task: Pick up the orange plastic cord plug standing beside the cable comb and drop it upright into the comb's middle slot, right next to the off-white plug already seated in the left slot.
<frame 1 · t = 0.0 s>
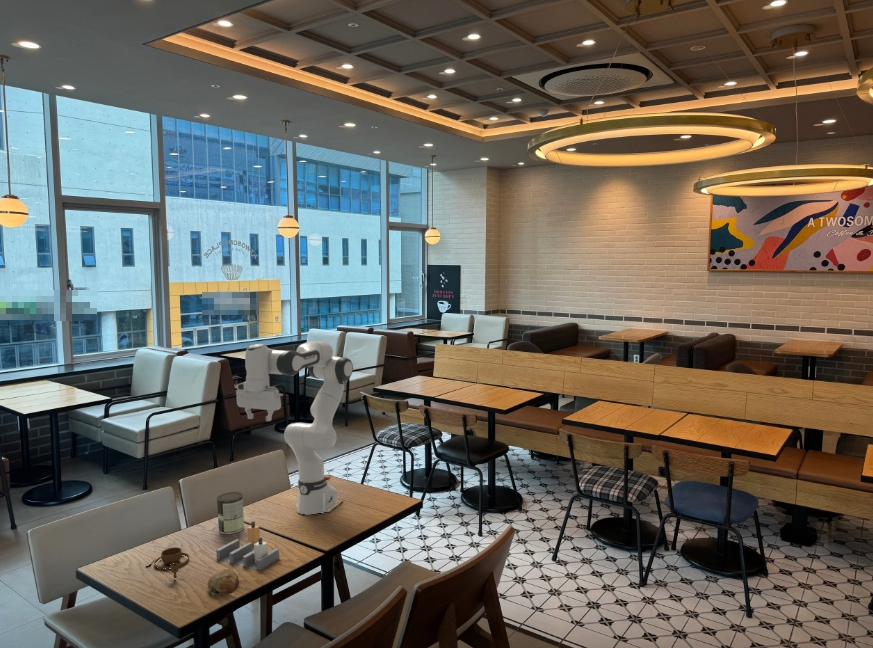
hand: (259, 419, 242), 48 cm above the table, tool pointing down, fingers open, 8 cm apart
white plug: (261, 562, 222), point 1 cm above the table, touching cable comb
cable comb: (248, 561, 225), on the table
bread roll: (224, 588, 206), on the table
orange plug: (254, 544, 239), on the table
place setting: (167, 569, 221), on the table
coffee can: (231, 529, 254), on the table
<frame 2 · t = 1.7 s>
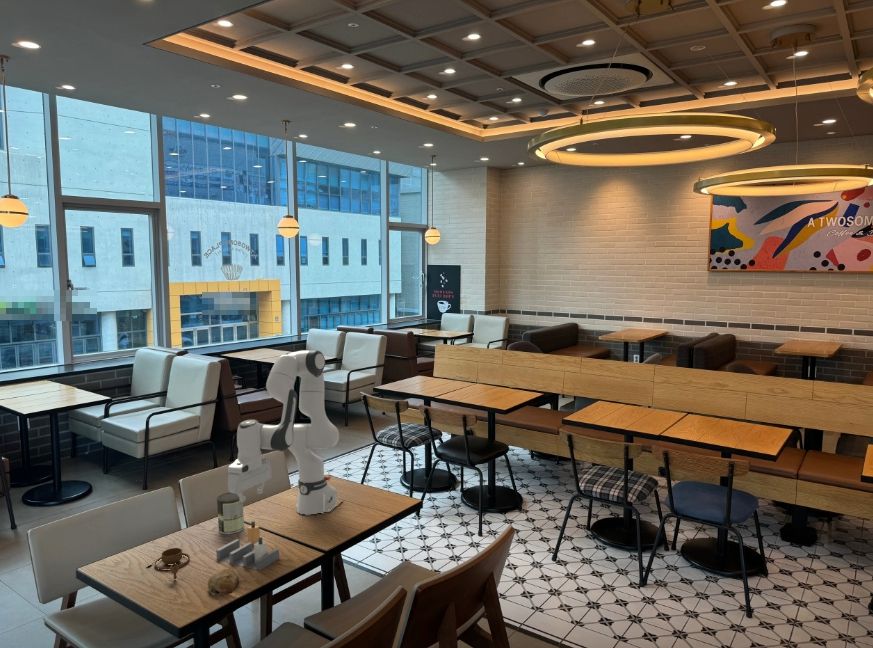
hand: (251, 497, 238), 19 cm above the table, tool pointing down, fingers open, 8 cm apart
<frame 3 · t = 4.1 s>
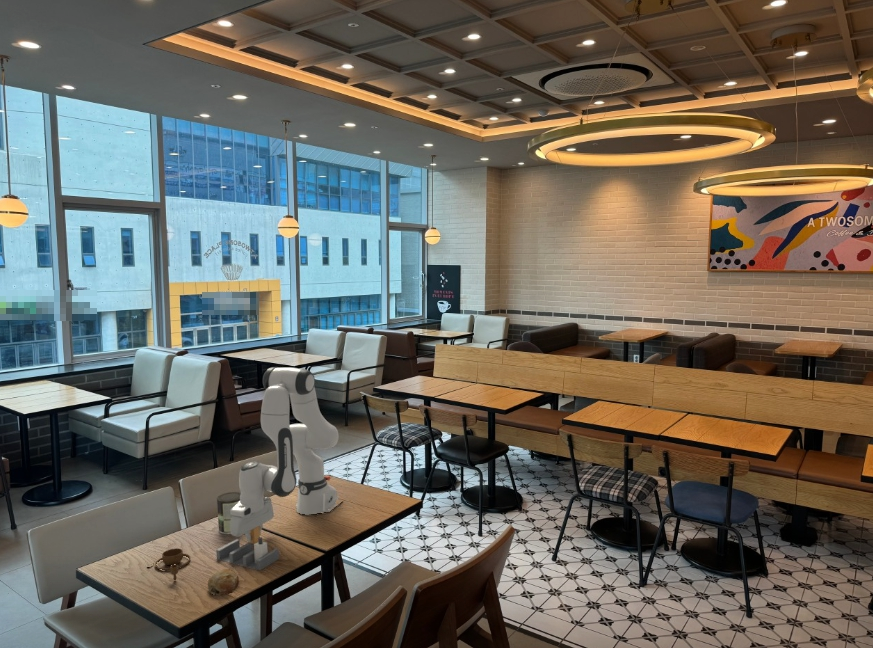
hand: (253, 538, 239), 2 cm above the table, tool pointing down, fingers closed on orange plug, 3 cm apart
orange plug: (254, 544, 239), on the table, touching gripper
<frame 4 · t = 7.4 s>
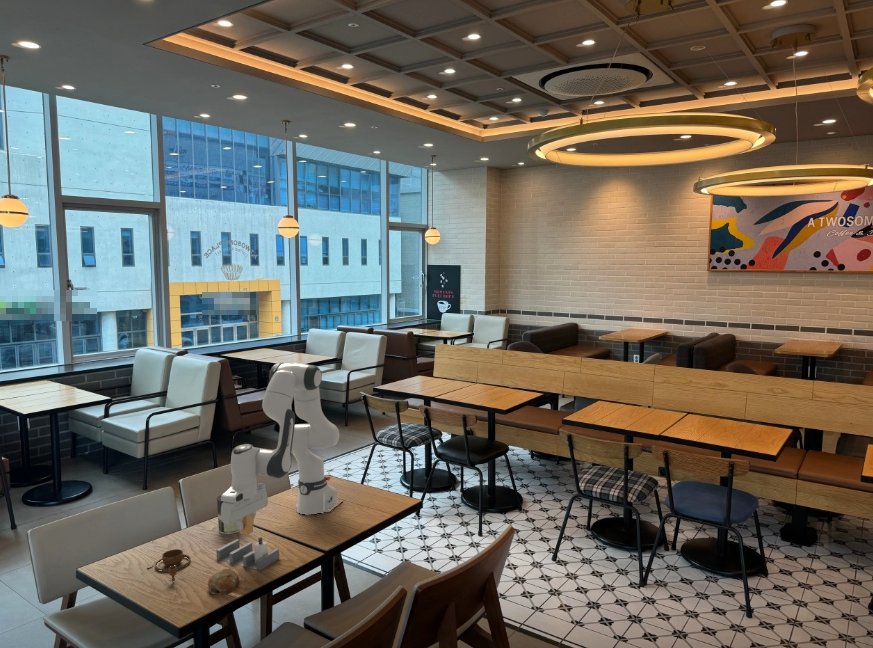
hand: (246, 526, 223), 13 cm above the table, tool pointing down, fingers closed on orange plug, 3 cm apart
orange plug: (246, 532, 224), point 11 cm above the table, touching gripper
when the fingers open (6 cm above the table, at t = 8.9 s): orange plug drops 2 cm, resting on cable comb.
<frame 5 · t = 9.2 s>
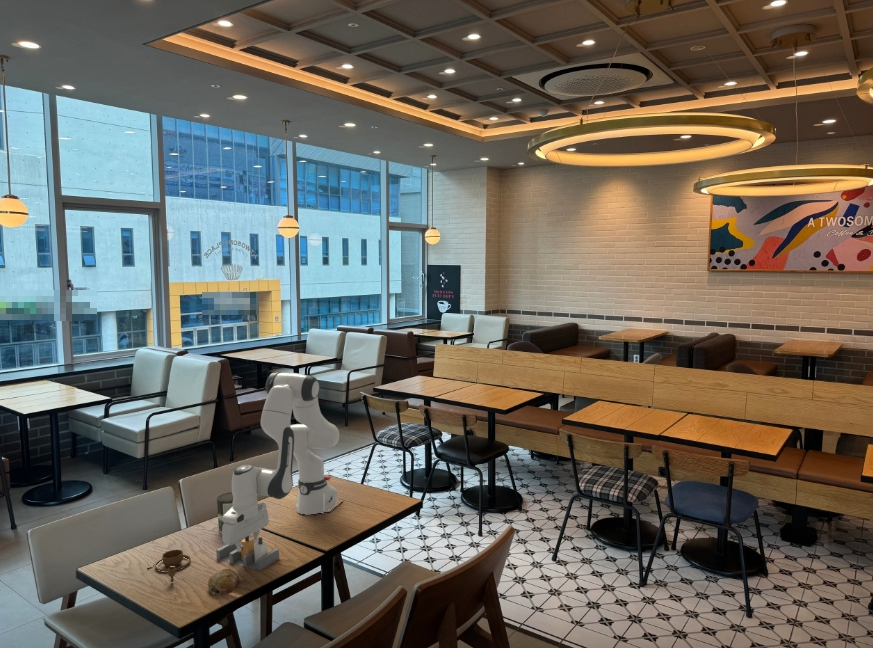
hand: (247, 546, 224), 6 cm above the table, tool pointing down, fingers open, 6 cm apart
orange plug: (248, 558, 225), point 1 cm above the table, touching cable comb
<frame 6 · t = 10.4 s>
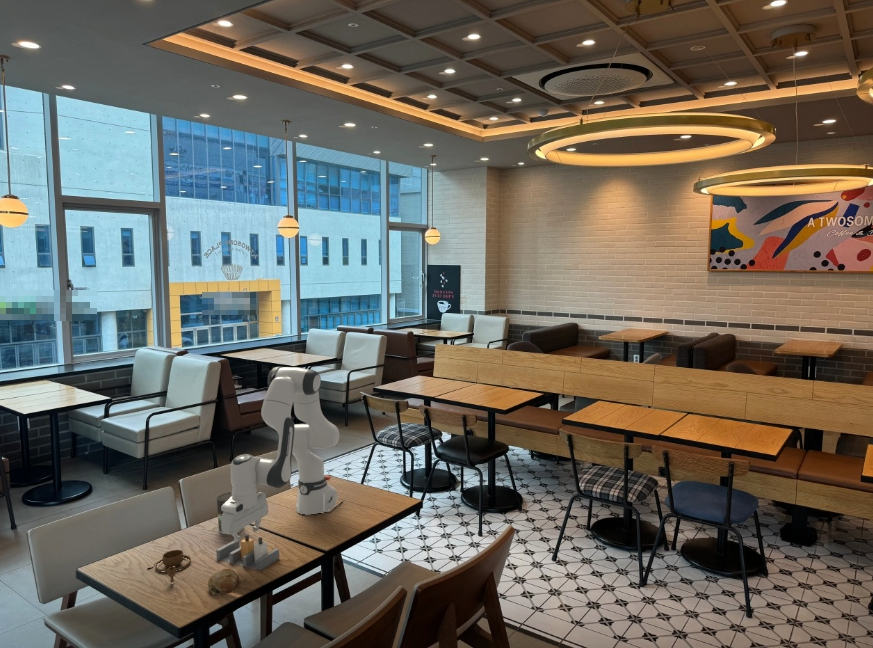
hand: (246, 536, 224), 9 cm above the table, tool pointing down, fingers open, 8 cm apart
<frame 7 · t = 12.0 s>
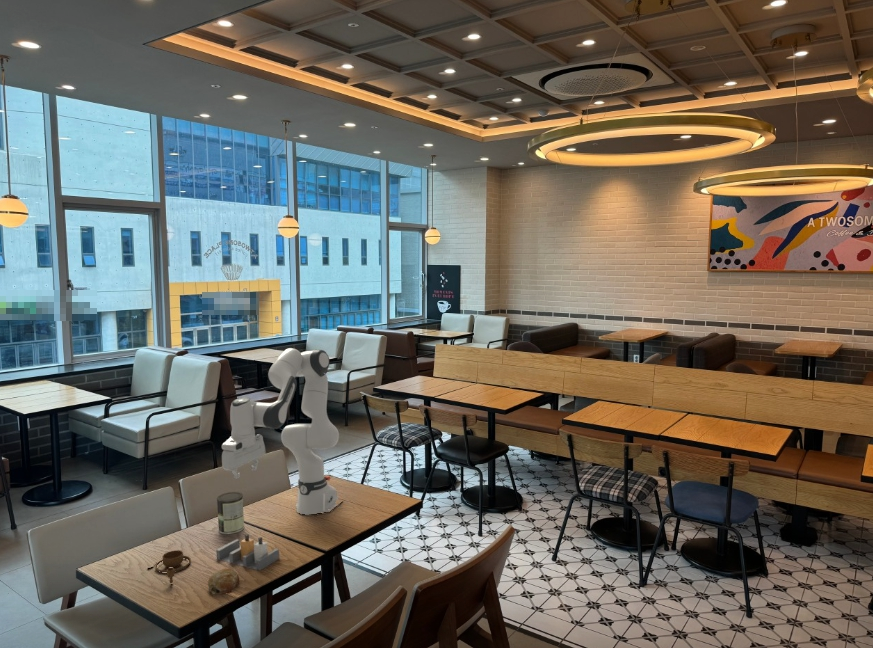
hand: (245, 474, 240), 27 cm above the table, tool pointing down, fingers open, 8 cm apart
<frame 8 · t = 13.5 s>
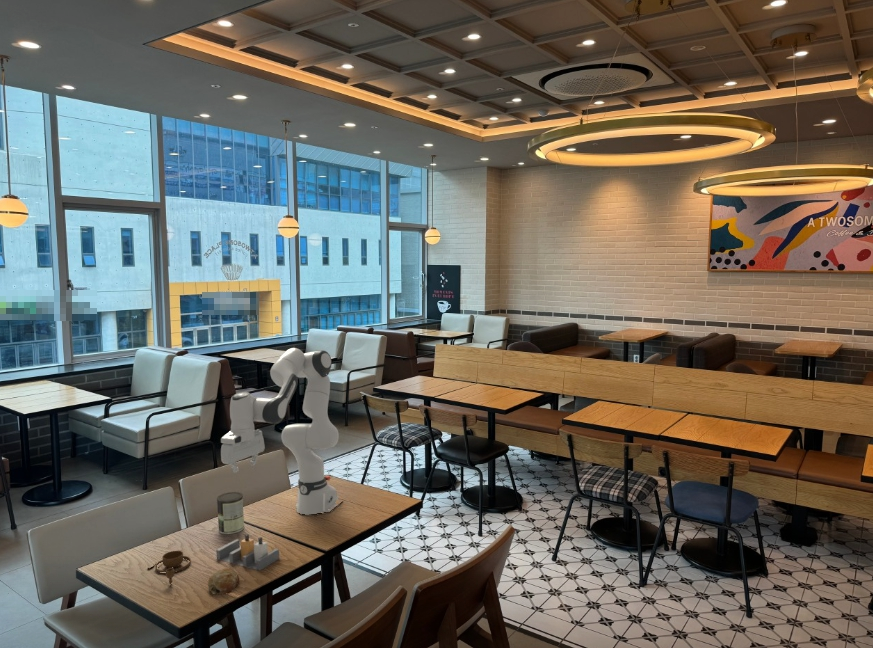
hand: (244, 468, 241), 29 cm above the table, tool pointing down, fingers open, 8 cm apart
at the end: orange plug 0.0 cm off-centre on the cable comb, point 1.0 cm above the cable comb's base; orange plug tilted 0°; white plug moved 0.1 cm from its start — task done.
